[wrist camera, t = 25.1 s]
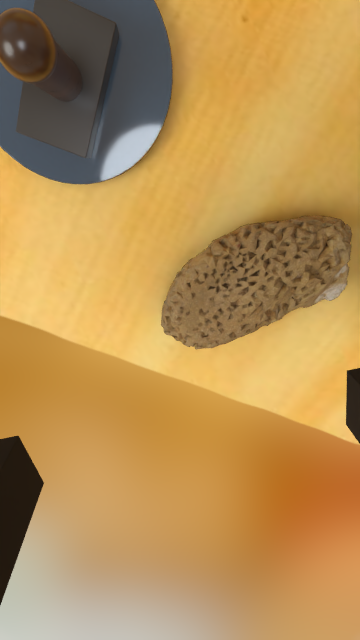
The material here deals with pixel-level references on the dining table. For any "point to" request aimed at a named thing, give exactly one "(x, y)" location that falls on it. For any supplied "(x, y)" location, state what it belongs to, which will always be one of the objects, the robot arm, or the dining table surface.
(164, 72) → the plate
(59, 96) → the stamp
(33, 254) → the dining table surface
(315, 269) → the sponge
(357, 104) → the dining table surface
